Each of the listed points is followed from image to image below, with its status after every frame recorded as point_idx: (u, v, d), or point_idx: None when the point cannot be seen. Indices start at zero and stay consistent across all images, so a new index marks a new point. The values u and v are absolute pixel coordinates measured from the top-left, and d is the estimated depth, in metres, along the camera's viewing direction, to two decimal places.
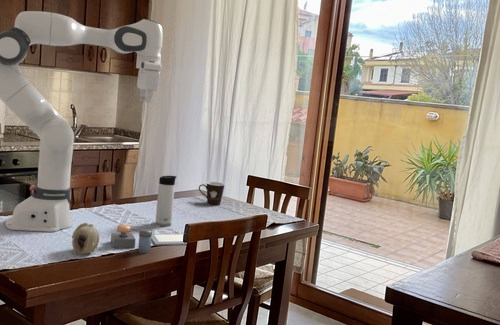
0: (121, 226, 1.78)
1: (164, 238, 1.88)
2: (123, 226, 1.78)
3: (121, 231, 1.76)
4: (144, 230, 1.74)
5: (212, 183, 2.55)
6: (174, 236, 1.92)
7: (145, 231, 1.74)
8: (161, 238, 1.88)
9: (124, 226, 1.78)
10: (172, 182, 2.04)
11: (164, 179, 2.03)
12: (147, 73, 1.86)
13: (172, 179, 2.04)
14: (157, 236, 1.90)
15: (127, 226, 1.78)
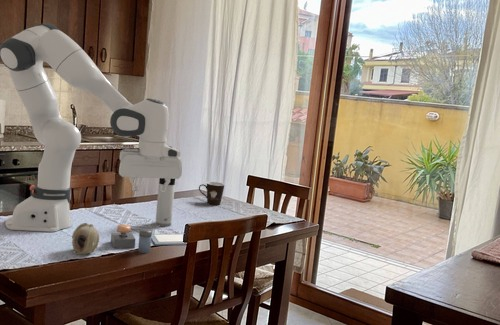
0: (121, 226, 1.78)
1: (164, 238, 1.88)
2: (123, 226, 1.78)
3: (121, 231, 1.76)
4: (144, 230, 1.74)
5: (212, 183, 2.55)
6: (174, 236, 1.92)
7: (145, 231, 1.74)
8: (161, 238, 1.88)
9: (124, 226, 1.78)
10: (172, 182, 2.04)
11: (164, 179, 2.03)
12: (180, 161, 1.72)
13: (172, 179, 2.04)
14: (157, 236, 1.90)
15: (127, 226, 1.78)
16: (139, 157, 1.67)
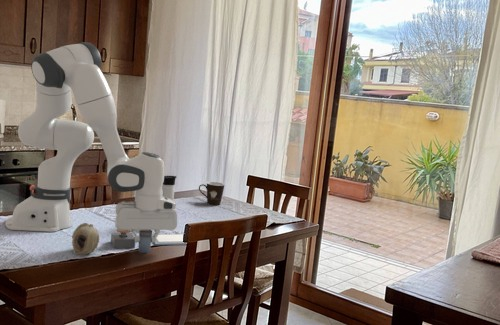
0: None
1: (164, 238, 1.88)
2: None
3: (121, 231, 1.76)
4: (144, 230, 1.74)
5: (212, 183, 2.55)
6: (174, 236, 1.92)
7: (145, 231, 1.74)
8: (161, 238, 1.88)
9: None
10: (172, 182, 2.04)
11: (164, 179, 2.03)
12: None
13: (172, 179, 2.04)
14: (157, 236, 1.90)
15: None
16: (135, 210, 1.70)
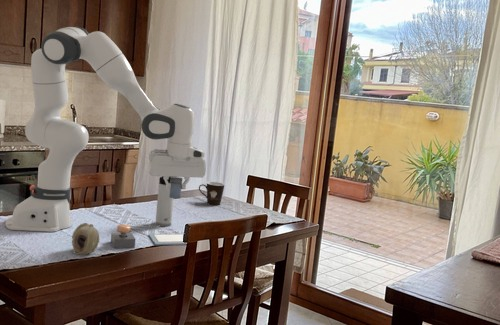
0: (121, 226, 1.78)
1: (164, 238, 1.88)
2: (123, 226, 1.78)
3: (121, 231, 1.76)
4: (174, 177, 1.86)
5: (212, 183, 2.55)
6: (174, 236, 1.92)
7: (176, 178, 1.86)
8: (161, 238, 1.88)
9: (124, 226, 1.78)
10: None
11: None
12: (204, 161, 1.87)
13: None
14: (157, 236, 1.90)
15: (127, 226, 1.78)
16: (167, 157, 1.82)
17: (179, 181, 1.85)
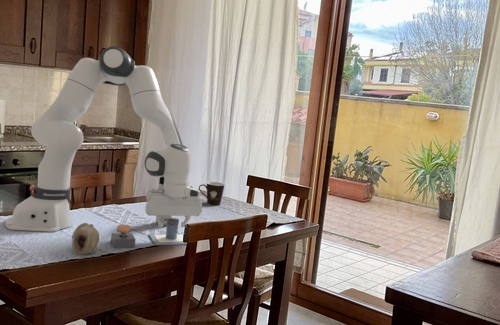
0: (121, 226, 1.78)
1: (164, 238, 1.88)
2: (123, 226, 1.78)
3: (121, 231, 1.76)
4: (171, 218, 1.89)
5: (212, 183, 2.55)
6: None
7: (172, 219, 1.88)
8: (161, 238, 1.88)
9: (124, 226, 1.78)
10: None
11: None
12: None
13: None
14: (157, 236, 1.90)
15: (127, 226, 1.78)
16: (164, 197, 1.84)
17: (175, 222, 1.87)
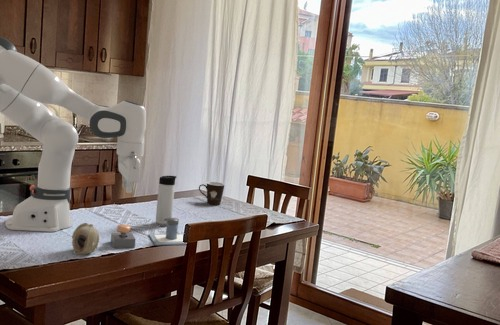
0: (121, 226, 1.78)
1: (164, 238, 1.88)
2: (123, 226, 1.78)
3: (121, 231, 1.76)
4: (171, 218, 1.89)
5: (212, 183, 2.55)
6: None
7: (172, 219, 1.88)
8: (161, 238, 1.88)
9: (124, 226, 1.78)
10: (172, 182, 2.04)
11: (164, 179, 2.03)
12: None
13: (172, 179, 2.04)
14: (157, 236, 1.90)
15: (127, 226, 1.78)
16: None
17: (175, 222, 1.87)
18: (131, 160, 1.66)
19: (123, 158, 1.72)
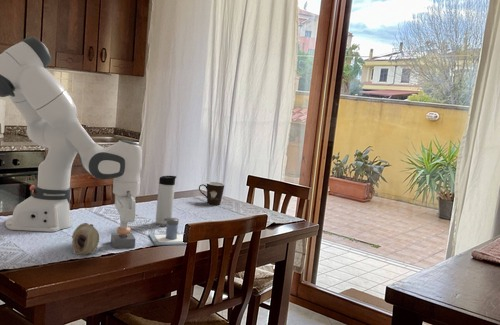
0: None
1: (164, 238, 1.88)
2: None
3: (121, 233, 1.76)
4: (171, 218, 1.89)
5: (212, 183, 2.55)
6: None
7: (172, 219, 1.88)
8: (161, 238, 1.88)
9: None
10: (172, 182, 2.04)
11: (164, 179, 2.03)
12: None
13: (172, 179, 2.04)
14: (157, 236, 1.90)
15: (127, 227, 1.79)
16: (133, 198, 1.73)
17: (175, 222, 1.87)
18: (127, 200, 1.68)
19: (119, 197, 1.73)
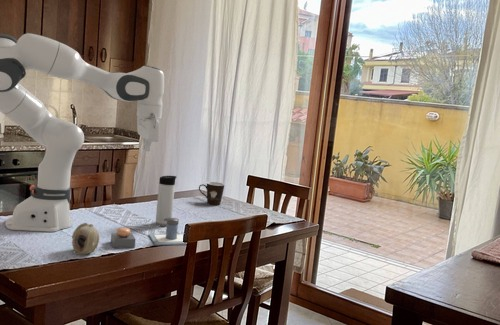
0: (121, 229, 1.78)
1: (164, 238, 1.88)
2: (123, 229, 1.78)
3: (121, 234, 1.76)
4: (171, 218, 1.89)
5: (212, 183, 2.55)
6: None
7: (172, 219, 1.88)
8: (161, 238, 1.88)
9: (124, 229, 1.78)
10: (172, 182, 2.04)
11: (164, 179, 2.03)
12: None
13: (172, 179, 2.04)
14: (157, 236, 1.90)
15: (127, 229, 1.79)
16: None
17: (175, 222, 1.87)
18: (151, 120, 1.79)
19: (143, 120, 1.84)
